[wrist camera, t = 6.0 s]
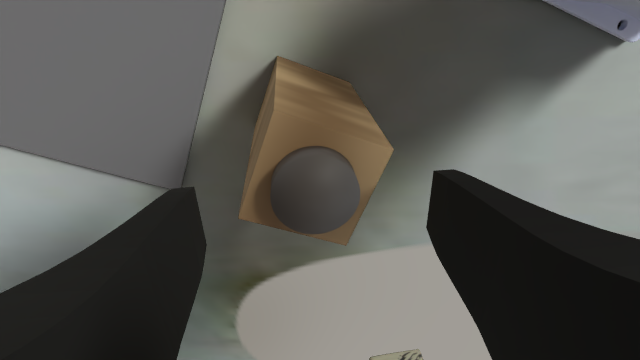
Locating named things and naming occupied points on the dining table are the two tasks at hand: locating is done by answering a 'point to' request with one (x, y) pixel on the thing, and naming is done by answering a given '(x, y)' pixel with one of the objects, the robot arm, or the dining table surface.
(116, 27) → the rest mat
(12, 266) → the dining table surface
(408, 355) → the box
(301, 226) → the wood grain block
